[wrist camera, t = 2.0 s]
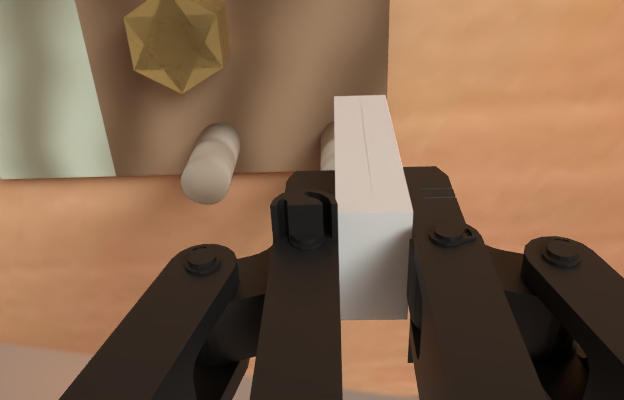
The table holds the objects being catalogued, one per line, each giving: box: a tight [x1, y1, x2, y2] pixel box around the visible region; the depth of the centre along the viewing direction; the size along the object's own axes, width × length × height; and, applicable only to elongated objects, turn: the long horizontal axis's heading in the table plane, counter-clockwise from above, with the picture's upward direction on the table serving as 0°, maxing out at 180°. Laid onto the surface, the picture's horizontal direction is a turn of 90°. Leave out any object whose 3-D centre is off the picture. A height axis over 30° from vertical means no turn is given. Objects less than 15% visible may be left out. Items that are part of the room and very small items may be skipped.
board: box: [0, 0, 389, 205], centre depth 29 cm, size 23×17×6 cm
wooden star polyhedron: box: [124, 0, 231, 94], centre depth 29 cm, size 4×5×3 cm
